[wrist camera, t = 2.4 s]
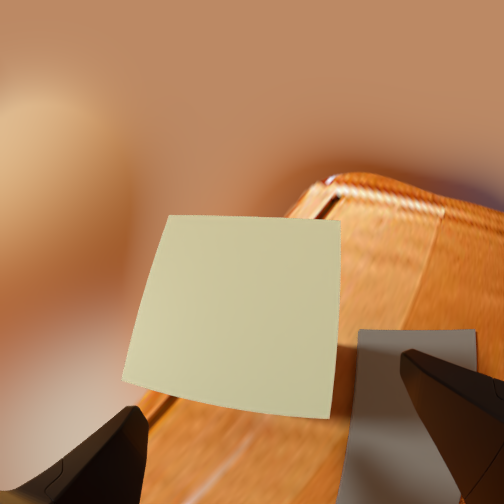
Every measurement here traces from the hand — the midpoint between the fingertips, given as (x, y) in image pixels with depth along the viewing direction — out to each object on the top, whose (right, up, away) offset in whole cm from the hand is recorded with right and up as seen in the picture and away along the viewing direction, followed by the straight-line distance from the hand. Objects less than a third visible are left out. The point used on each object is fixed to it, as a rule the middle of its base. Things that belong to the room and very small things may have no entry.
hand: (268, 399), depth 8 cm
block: (+1, -3, +9) cm, 10 cm away
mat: (+10, -7, +5) cm, 13 cm away
